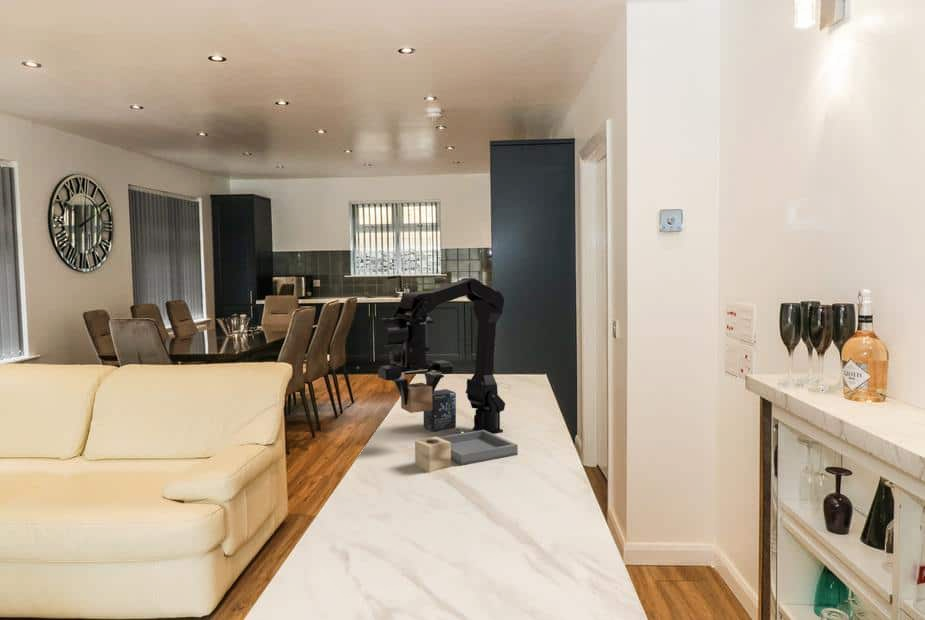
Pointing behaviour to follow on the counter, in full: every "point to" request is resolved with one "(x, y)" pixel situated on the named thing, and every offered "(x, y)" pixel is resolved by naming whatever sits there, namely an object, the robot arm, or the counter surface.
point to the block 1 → (418, 398)
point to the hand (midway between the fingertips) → (416, 403)
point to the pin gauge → (457, 432)
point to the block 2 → (433, 454)
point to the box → (441, 411)
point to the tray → (479, 447)
